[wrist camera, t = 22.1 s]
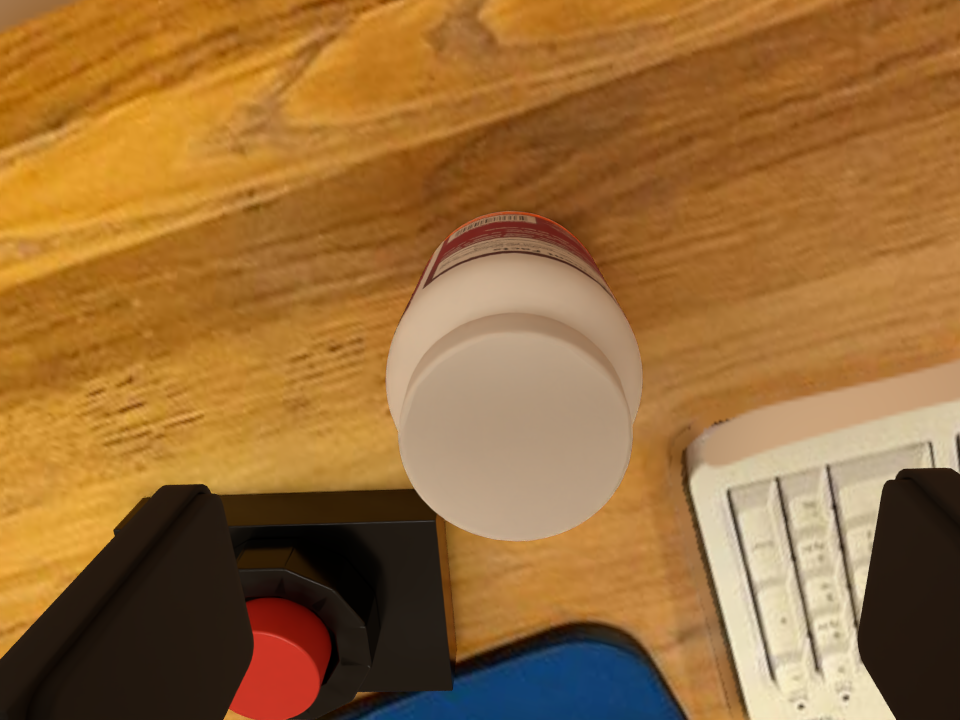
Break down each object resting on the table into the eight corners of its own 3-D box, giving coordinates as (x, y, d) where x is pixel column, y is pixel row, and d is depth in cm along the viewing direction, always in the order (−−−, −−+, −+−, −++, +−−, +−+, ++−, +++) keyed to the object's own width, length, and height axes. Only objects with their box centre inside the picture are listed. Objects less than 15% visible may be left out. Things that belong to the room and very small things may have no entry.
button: (324, 594, 24) (310, 630, 23) (339, 681, 26) (327, 721, 24) (213, 597, 24) (192, 632, 23) (234, 683, 26) (216, 723, 24)
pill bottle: (525, 411, 25) (535, 624, 15) (387, 312, 24) (296, 469, 14) (639, 281, 23) (740, 423, 13) (495, 167, 22) (482, 224, 12)
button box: (441, 487, 27) (430, 551, 23) (456, 649, 29) (449, 729, 26) (142, 497, 27) (84, 560, 24) (185, 654, 30) (139, 733, 26)
